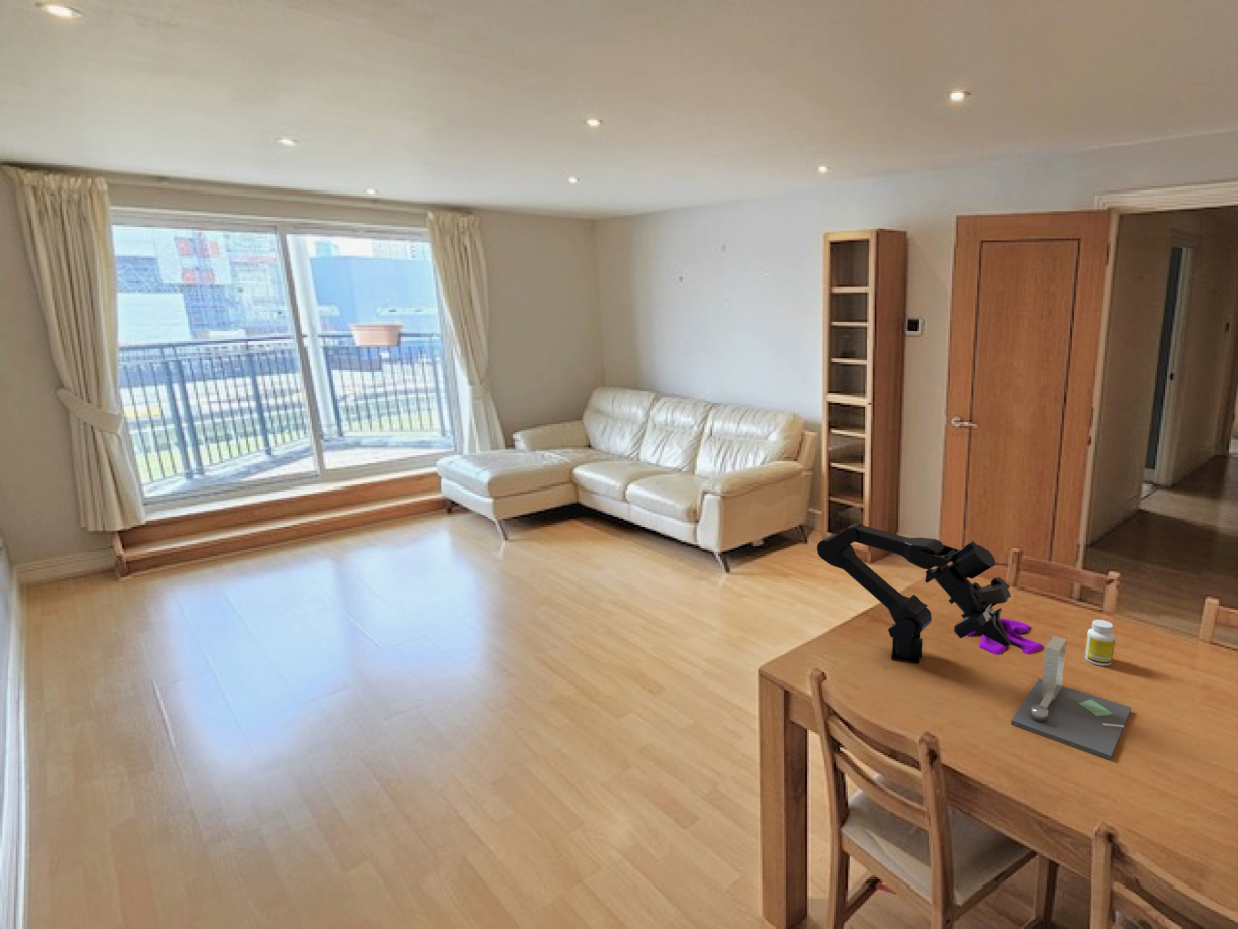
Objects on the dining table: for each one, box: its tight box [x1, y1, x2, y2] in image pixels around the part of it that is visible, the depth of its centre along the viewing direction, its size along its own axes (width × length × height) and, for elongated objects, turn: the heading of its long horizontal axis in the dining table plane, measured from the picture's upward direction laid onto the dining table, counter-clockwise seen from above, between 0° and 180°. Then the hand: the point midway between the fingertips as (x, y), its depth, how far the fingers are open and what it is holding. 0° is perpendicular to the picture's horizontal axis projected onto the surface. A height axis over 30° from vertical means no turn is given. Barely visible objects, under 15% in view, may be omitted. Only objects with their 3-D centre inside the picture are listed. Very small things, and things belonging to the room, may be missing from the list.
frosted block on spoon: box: [1031, 635, 1067, 722], centre depth 139 cm, size 16×3×13 cm, turn 134°
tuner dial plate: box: [1010, 678, 1132, 761], centre depth 137 cm, size 20×17×1 cm
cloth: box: [965, 617, 1045, 656], centre depth 170 cm, size 22×19×6 cm
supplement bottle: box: [1084, 619, 1116, 667], centre depth 156 cm, size 5×5×10 cm
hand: (1008, 645), depth 146 cm, fingers closed
